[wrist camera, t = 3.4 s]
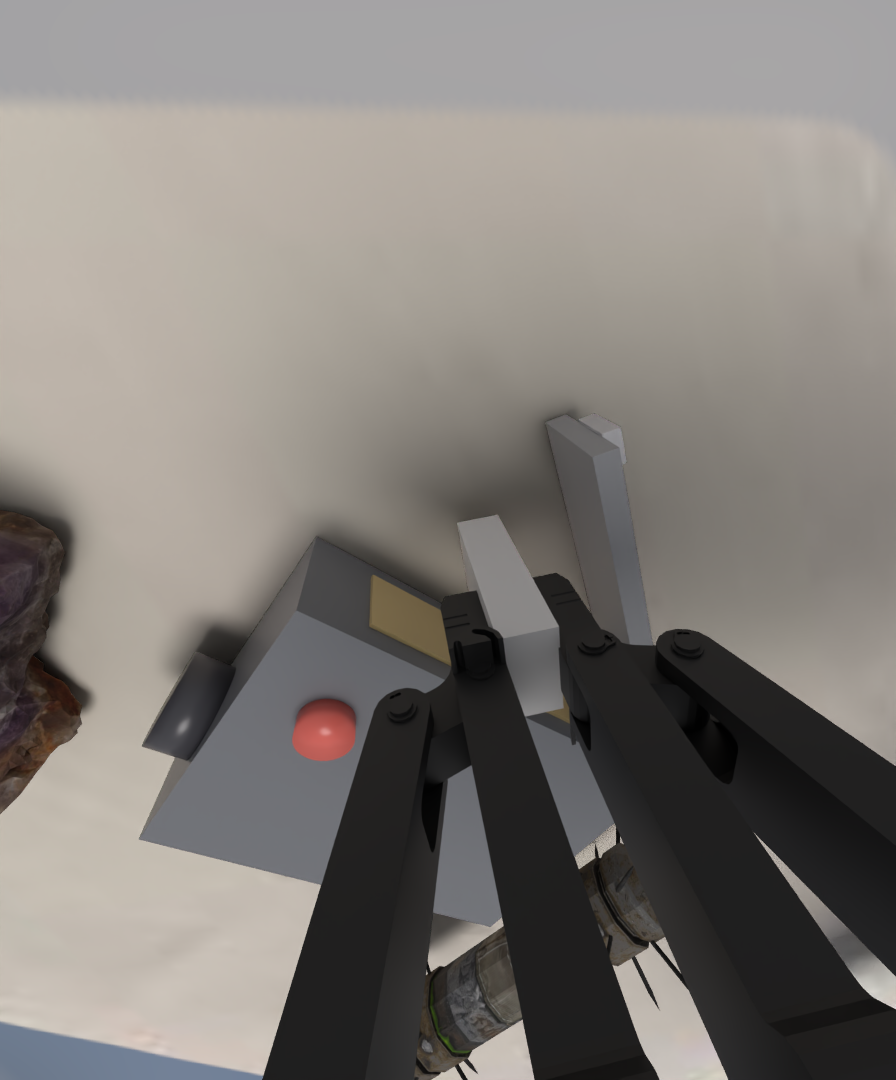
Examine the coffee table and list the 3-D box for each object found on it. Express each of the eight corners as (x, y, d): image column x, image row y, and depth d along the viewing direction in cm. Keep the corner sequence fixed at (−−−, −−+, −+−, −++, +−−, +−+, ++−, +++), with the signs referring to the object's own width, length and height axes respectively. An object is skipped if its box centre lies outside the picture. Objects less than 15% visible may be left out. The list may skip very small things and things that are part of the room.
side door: (636, 685, 24) (688, 763, 20) (609, 695, 24) (654, 775, 20) (580, 405, 17) (641, 438, 13) (541, 419, 17) (590, 456, 13)
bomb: (757, 1063, 17) (264, 1308, 24) (770, 950, 25) (397, 1160, 33) (568, 770, 24) (224, 1034, 31) (627, 756, 32) (343, 968, 39)
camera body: (614, 693, 25) (675, 797, 19) (473, 828, 28) (493, 946, 23) (280, 512, 18) (240, 598, 13) (151, 719, 22) (80, 850, 17)
